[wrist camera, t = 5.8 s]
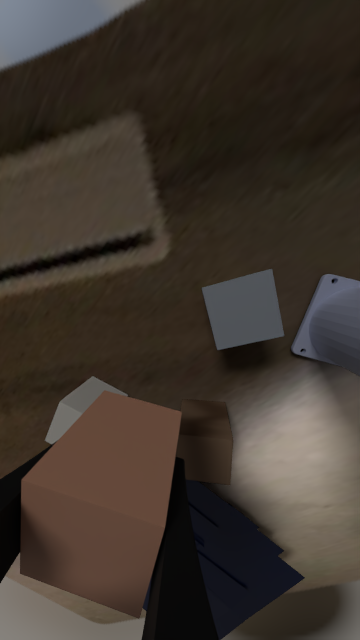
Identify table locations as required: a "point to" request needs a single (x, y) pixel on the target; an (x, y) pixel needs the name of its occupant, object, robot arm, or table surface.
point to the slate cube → (243, 310)
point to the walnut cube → (205, 441)
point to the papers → (234, 560)
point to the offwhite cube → (76, 406)
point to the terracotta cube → (101, 502)
